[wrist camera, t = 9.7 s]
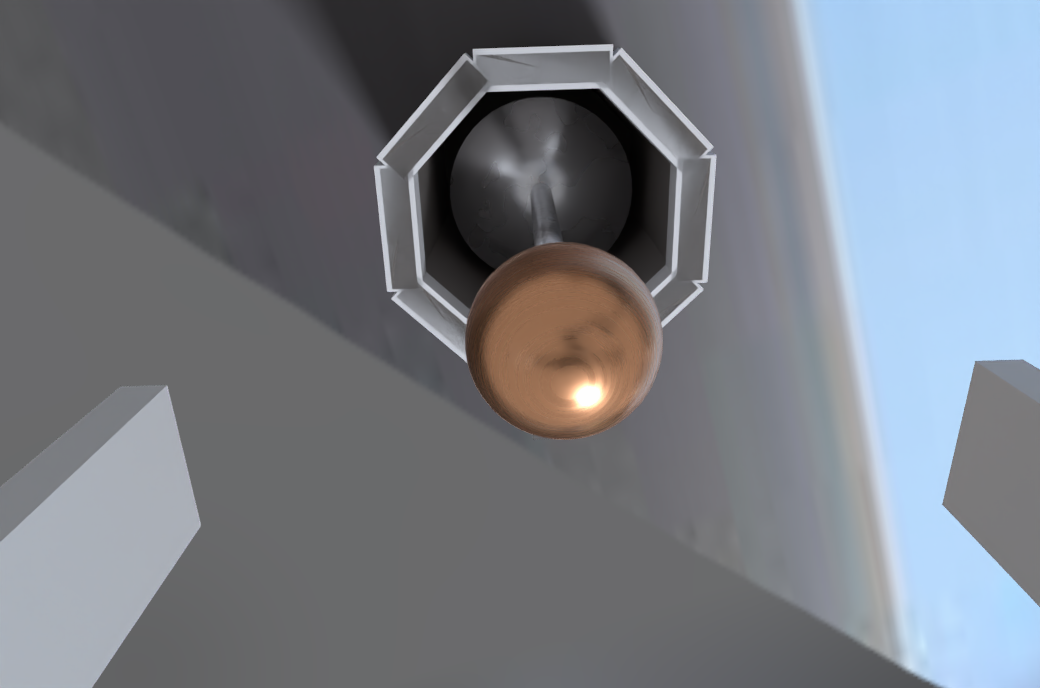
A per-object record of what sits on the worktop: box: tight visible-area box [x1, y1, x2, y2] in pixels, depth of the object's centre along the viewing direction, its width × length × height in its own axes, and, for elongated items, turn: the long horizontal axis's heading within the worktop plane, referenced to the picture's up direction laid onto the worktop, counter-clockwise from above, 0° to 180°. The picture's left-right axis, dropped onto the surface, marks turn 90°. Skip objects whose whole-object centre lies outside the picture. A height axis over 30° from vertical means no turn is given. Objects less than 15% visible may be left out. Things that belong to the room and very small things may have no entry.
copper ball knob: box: [450, 97, 663, 440], centre depth 24 cm, size 8×8×21 cm
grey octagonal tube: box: [374, 44, 717, 440], centre depth 34 cm, size 16×12×14 cm
